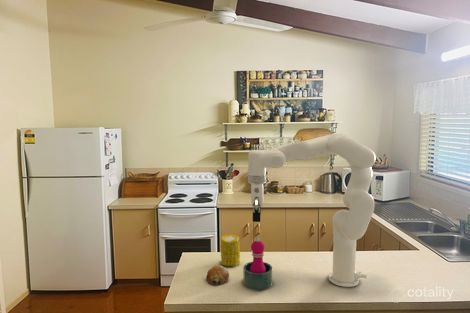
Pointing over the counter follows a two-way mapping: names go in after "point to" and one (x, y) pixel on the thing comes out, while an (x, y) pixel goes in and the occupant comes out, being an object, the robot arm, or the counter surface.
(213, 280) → the bread roll
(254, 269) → the pepper mill
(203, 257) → the counter surface
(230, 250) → the food
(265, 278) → the pot
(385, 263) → the counter surface
